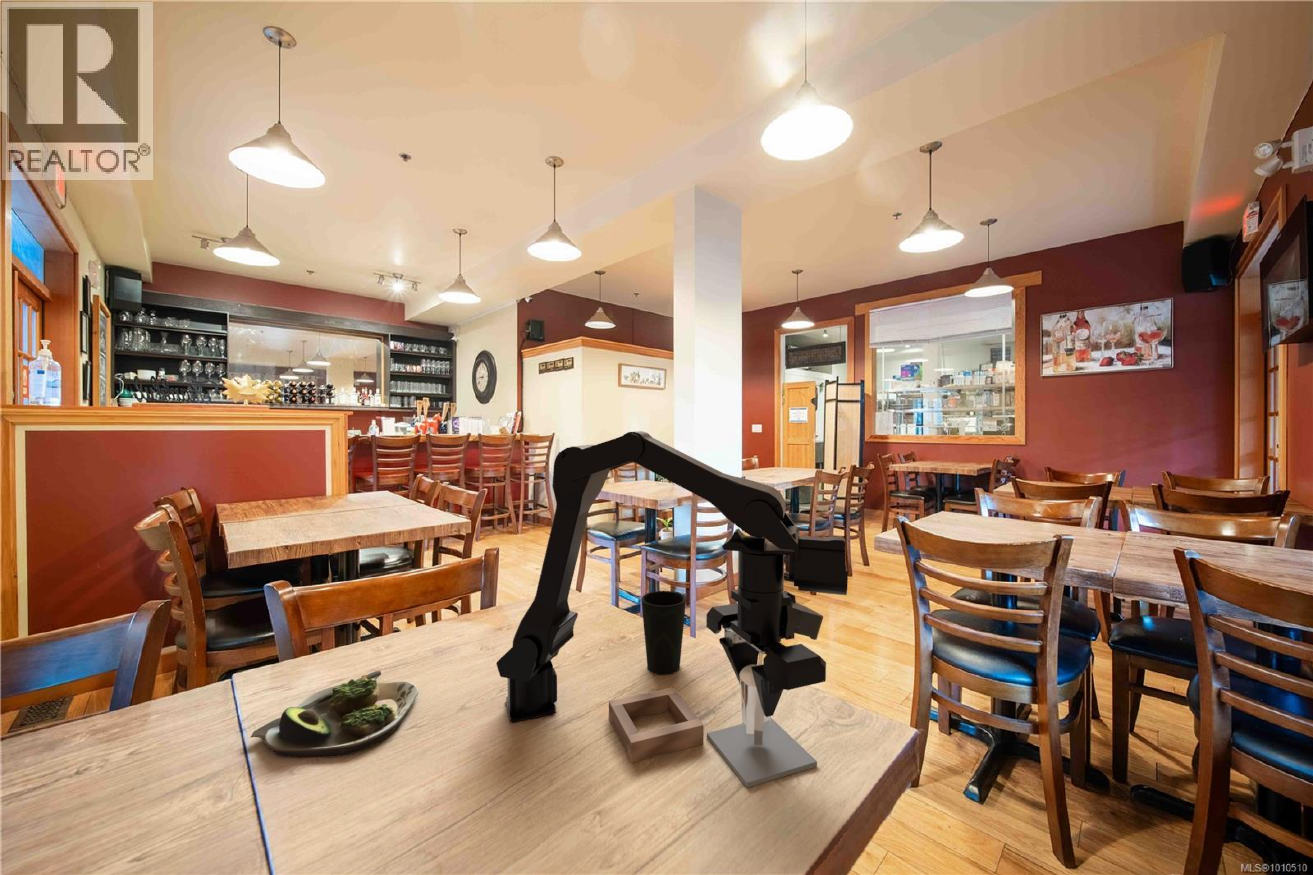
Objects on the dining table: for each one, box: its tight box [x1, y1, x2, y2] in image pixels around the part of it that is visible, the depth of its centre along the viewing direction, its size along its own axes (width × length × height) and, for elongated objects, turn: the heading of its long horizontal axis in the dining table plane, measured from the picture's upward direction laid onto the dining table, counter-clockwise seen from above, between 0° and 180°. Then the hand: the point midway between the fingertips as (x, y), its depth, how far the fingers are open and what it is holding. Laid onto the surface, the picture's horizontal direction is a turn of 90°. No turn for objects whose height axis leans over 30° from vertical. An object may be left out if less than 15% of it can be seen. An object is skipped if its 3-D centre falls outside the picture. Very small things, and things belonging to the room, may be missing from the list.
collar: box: [608, 687, 705, 763], centre depth 69 cm, size 10×10×2 cm
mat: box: [706, 717, 818, 789], centre depth 65 cm, size 10×10×1 cm
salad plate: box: [250, 670, 419, 759], centre depth 73 cm, size 19×18×5 cm
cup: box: [641, 590, 687, 676], centre depth 86 cm, size 8×8×12 cm
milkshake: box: [739, 652, 772, 745], centre depth 65 cm, size 4×5×10 cm
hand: (758, 706), depth 64 cm, fingers closed on milkshake, 4 cm apart
